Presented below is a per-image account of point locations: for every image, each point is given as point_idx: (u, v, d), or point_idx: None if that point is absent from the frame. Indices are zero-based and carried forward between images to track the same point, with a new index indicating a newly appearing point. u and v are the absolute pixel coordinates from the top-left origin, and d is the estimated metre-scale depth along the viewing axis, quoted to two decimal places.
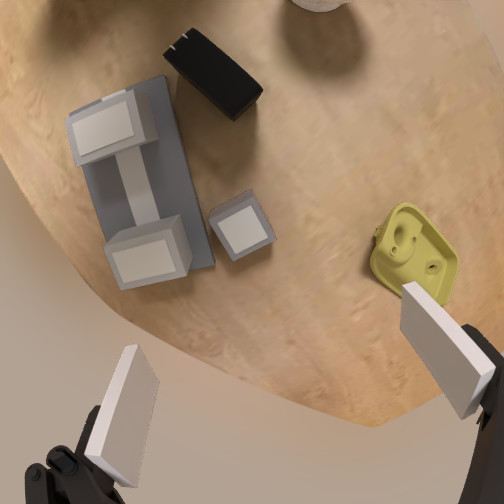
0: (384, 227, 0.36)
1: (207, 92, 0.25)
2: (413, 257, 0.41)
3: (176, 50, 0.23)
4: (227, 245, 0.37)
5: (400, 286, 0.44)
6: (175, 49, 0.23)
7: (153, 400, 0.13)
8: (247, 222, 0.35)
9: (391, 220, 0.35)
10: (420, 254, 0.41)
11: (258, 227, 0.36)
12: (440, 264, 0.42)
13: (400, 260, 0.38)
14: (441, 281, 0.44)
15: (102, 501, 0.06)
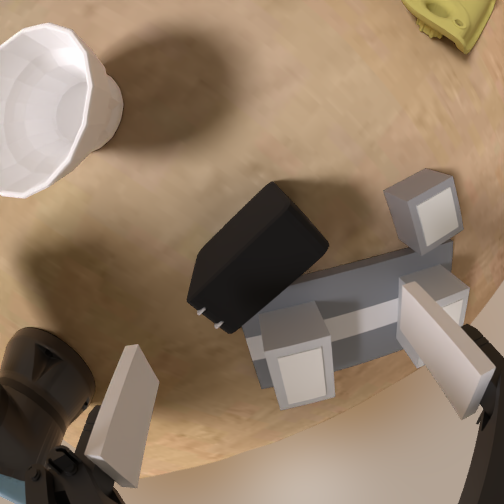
0: (436, 28, 0.17)
1: (292, 281, 0.20)
2: None
3: (224, 321, 0.21)
4: (448, 235, 0.26)
5: (480, 20, 0.19)
6: (222, 322, 0.21)
7: (153, 400, 0.13)
8: (432, 211, 0.24)
9: (429, 17, 0.17)
10: None
11: (439, 198, 0.24)
12: None
13: (467, 17, 0.16)
14: None
15: (102, 501, 0.06)
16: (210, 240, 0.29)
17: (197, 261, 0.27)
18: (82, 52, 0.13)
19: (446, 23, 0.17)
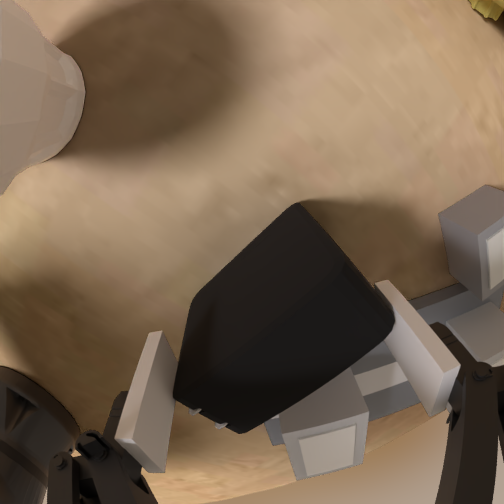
0: (501, 2, 0.09)
1: (335, 375, 0.12)
2: None
3: (230, 423, 0.13)
4: None
5: None
6: (227, 423, 0.13)
7: None
8: (502, 245, 0.16)
9: None
10: None
11: None
12: None
13: None
14: None
15: (130, 489, 0.06)
16: (208, 284, 0.20)
17: (190, 318, 0.18)
18: None
19: None
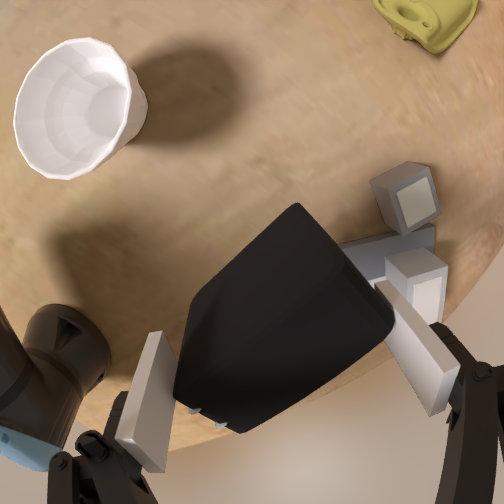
0: (402, 28, 0.22)
1: (335, 374, 0.12)
2: (430, 4, 0.22)
3: (230, 422, 0.13)
4: (427, 218, 0.30)
5: (456, 26, 0.24)
6: (227, 423, 0.13)
7: None
8: (411, 197, 0.29)
9: (395, 19, 0.21)
10: None
11: (416, 186, 0.29)
12: None
13: (436, 20, 0.21)
14: None
15: (130, 489, 0.06)
16: (208, 284, 0.20)
17: (190, 317, 0.18)
18: (122, 65, 0.18)
19: (413, 25, 0.22)
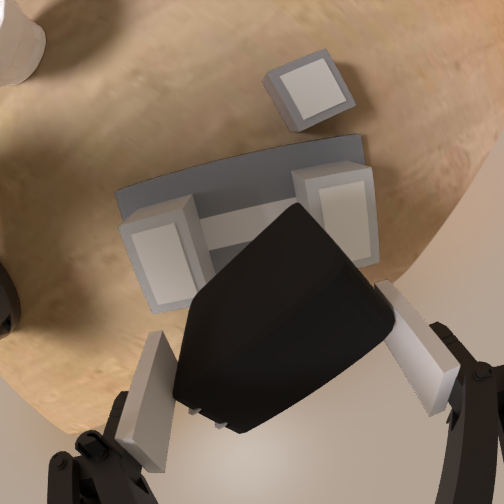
0: None
1: (336, 374, 0.12)
2: None
3: (230, 422, 0.13)
4: (334, 110, 0.24)
5: None
6: (227, 423, 0.13)
7: None
8: (302, 81, 0.23)
9: None
10: None
11: (309, 68, 0.22)
12: None
13: None
14: None
15: (130, 489, 0.06)
16: (208, 283, 0.20)
17: (189, 317, 0.18)
18: (2, 0, 0.11)
19: None
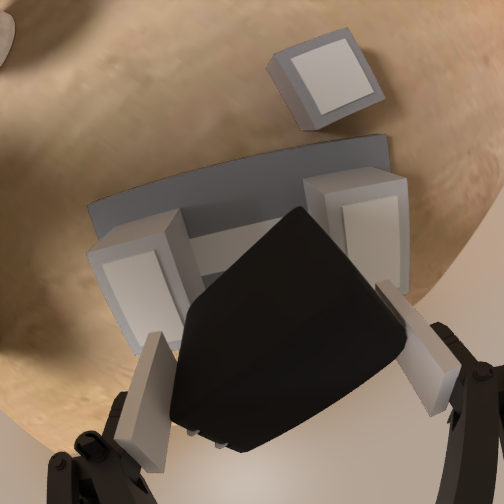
0: None
1: (343, 395, 0.11)
2: None
3: (230, 443, 0.12)
4: (359, 103, 0.18)
5: None
6: (227, 443, 0.12)
7: None
8: (320, 66, 0.17)
9: None
10: None
11: (328, 50, 0.17)
12: None
13: None
14: None
15: (130, 490, 0.06)
16: (205, 292, 0.19)
17: (186, 329, 0.17)
18: None
19: None
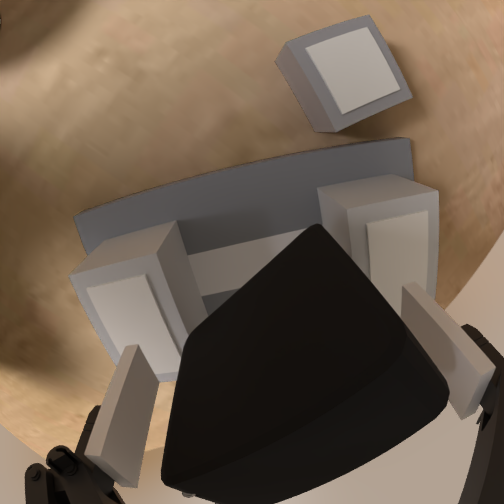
0: None
1: (370, 459, 0.08)
2: None
3: None
4: (384, 101, 0.15)
5: None
6: None
7: (153, 400, 0.13)
8: (339, 57, 0.14)
9: None
10: None
11: (348, 39, 0.14)
12: None
13: None
14: None
15: (102, 501, 0.06)
16: (205, 322, 0.16)
17: (182, 367, 0.14)
18: None
19: None
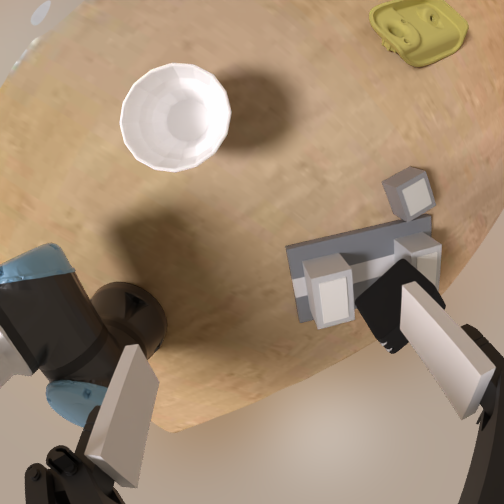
0: (385, 39, 0.31)
1: None
2: (418, 29, 0.32)
3: (394, 347, 0.35)
4: (425, 209, 0.41)
5: (438, 51, 0.34)
6: (392, 348, 0.35)
7: (153, 400, 0.13)
8: (413, 193, 0.40)
9: (381, 31, 0.30)
10: (418, 22, 0.32)
11: (416, 185, 0.39)
12: (431, 10, 0.30)
13: (417, 40, 0.30)
14: (446, 16, 0.31)
15: (102, 501, 0.06)
16: (364, 294, 0.42)
17: (362, 310, 0.40)
18: (223, 91, 0.28)
19: (396, 39, 0.31)
